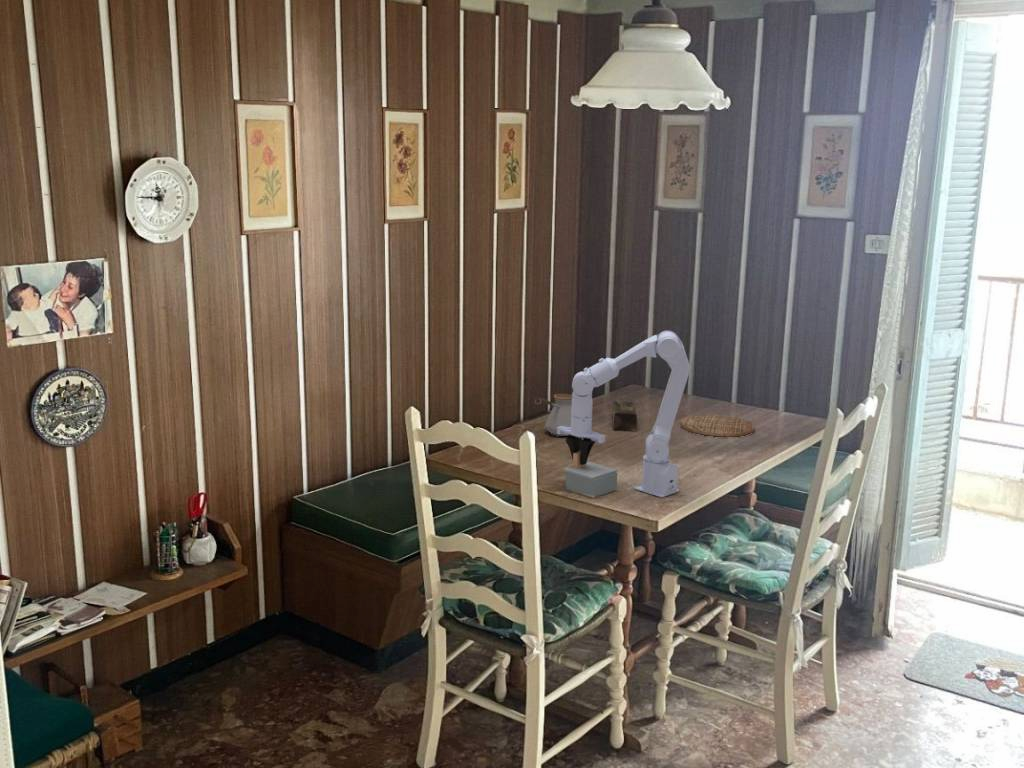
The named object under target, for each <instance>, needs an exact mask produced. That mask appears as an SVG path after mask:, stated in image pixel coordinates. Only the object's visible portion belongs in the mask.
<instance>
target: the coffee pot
mask: <svg viewBox="0 0 1024 768" xmlns="http://www.w3.org/2000/svg"><path fill="white" fill-rule="evenodd" d="M553 398H554V399H555V400H554V401H555V403H553V402H552V401H549V400H548V399H544V398H543V397H542V398H541V397H538V398H537V399H535V400H534V403H535V404H536V405H540V404H541V403H544V404H546V405H549V406H552V409H551V411H550V413H549V416H548V417H547V419H546V422H545V423H544V424H545V425H544V426H545V429H546V430H547V431H548V432H549V433H550V435H552V434H553V435H552V436H554V435H556V436H555V437H559V436H568V435H564V434H557V427H560V426H564V427H571V408H572V398H573V396H572V394H568V393H555V394H553ZM536 400H538V401H540V402H539V403H537V402H536Z"/></svg>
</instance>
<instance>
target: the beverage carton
mask: <svg viewBox="0 0 1024 768" xmlns="http://www.w3.org/2000/svg"><path fill="white" fill-rule="evenodd" d="M612 402H613V403H612V414H611V417H613V418H612V430H613V431H619V430H623V431H622V432H636V429H637V420H638V416H637V409H636V405H635V402H632V401H631V402H629V401H622V400H616V401H615V400H613V401H612Z"/></svg>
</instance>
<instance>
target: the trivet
mask: <svg viewBox="0 0 1024 768" xmlns="http://www.w3.org/2000/svg"><path fill="white" fill-rule="evenodd" d="M679 426H680V428H681V429H682V430H683V429H684V430H683V431H685V430H686V431H685V432H687V431H688V432H687V433H689V432H691V433H690V434H693V433H695V434H694V435H696V434H700V435H699V436H701V435H705V436H704V437H707V436H713V437H712V438H715V437H739V438H741V437H740V436H745V437H747V436H746V435H749V434H751V433H753V432H754V433H755V430H756V429H755V428H756V427H755V424H753V423H752V422H750V421H748V420H746V419H743V418H740V417H735V416H731V415H730V416H729V415H722V414H694V415H693V414H692V415H688V416H685V417H683V418H682V419H680V425H679ZM754 433H753V434H754ZM751 435H752V434H751ZM749 436H750V435H749Z"/></svg>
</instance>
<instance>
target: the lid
mask: <svg viewBox="0 0 1024 768" xmlns="http://www.w3.org/2000/svg"><path fill="white" fill-rule="evenodd" d="M562 470H563V472H565V473H566V472H569V473H572V474H575V475H578V476H581V477H585V478H588V479H591V480H593V479H596V478H599V477H603V476H606V475H609V474H612V473H615V472H616V473H618V471H617V469H615V468H611V467H608V466H605V465H602V464H598V463H594V462H592V461H587V463H586V464H584V465H581V464H580V451H579V452H576V453H573V460H572V466H568V467H565V468H562Z"/></svg>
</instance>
